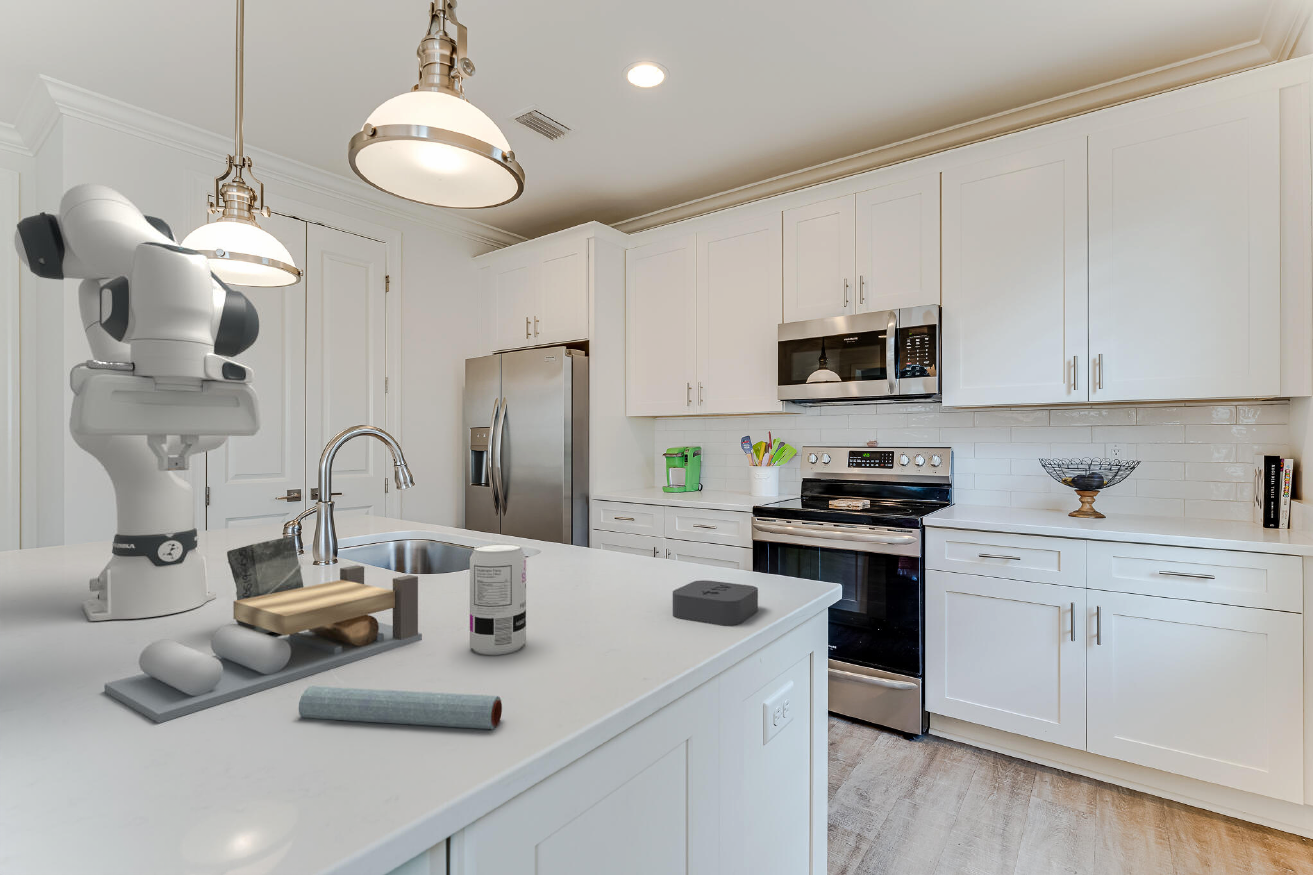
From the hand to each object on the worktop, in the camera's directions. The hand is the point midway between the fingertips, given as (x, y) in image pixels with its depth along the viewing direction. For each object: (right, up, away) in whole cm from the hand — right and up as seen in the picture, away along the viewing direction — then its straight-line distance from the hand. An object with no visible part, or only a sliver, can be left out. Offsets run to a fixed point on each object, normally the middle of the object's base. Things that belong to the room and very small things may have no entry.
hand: (173, 470), depth 84 cm
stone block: (+1, -27, +18) cm, 33 cm away
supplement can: (+40, -27, +11) cm, 50 cm away
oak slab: (+14, -21, +9) cm, 27 cm away
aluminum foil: (+35, -28, -15) cm, 47 cm away
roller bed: (+12, -27, +4) cm, 30 cm away
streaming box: (+75, -28, +29) cm, 85 cm away
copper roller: (+16, -24, +12) cm, 31 cm away
